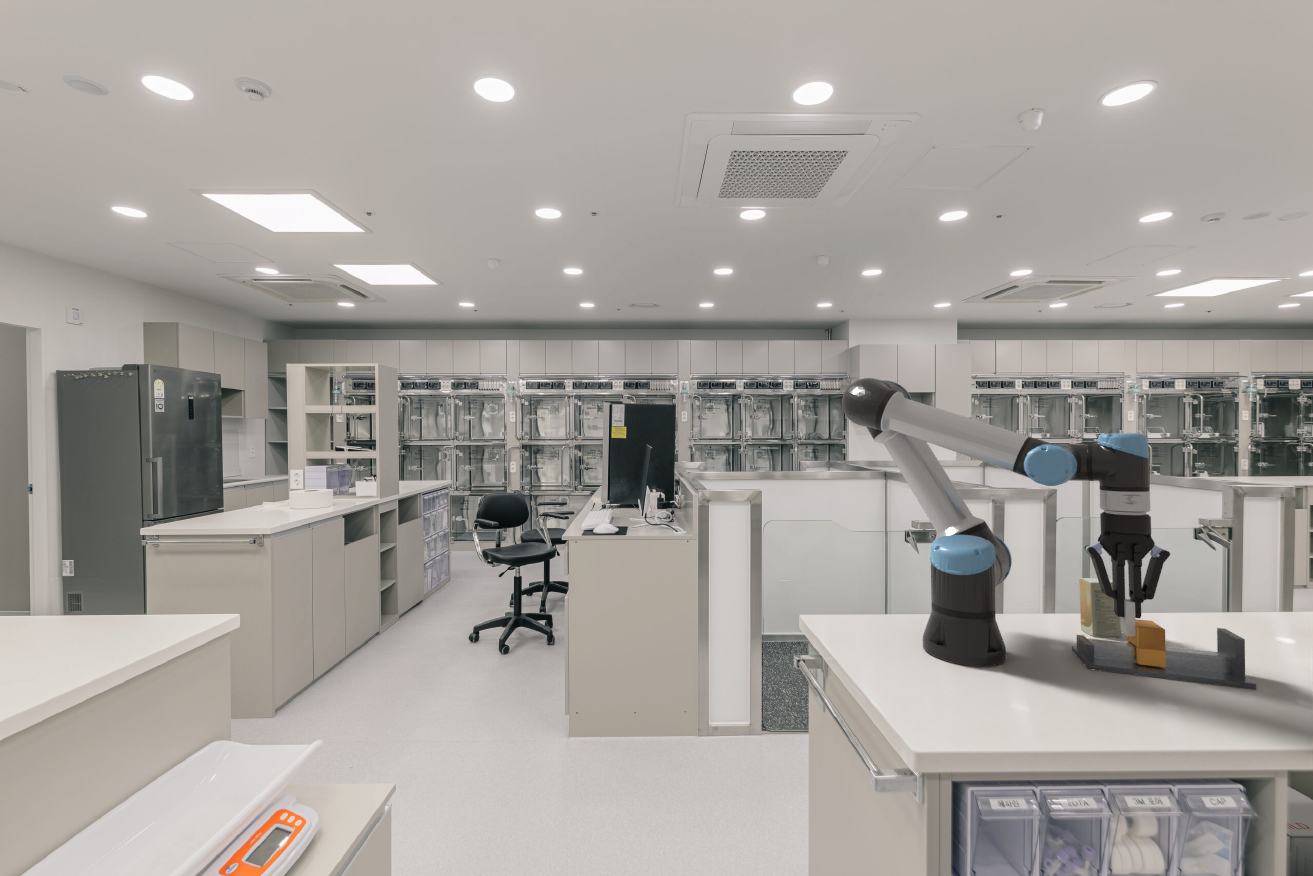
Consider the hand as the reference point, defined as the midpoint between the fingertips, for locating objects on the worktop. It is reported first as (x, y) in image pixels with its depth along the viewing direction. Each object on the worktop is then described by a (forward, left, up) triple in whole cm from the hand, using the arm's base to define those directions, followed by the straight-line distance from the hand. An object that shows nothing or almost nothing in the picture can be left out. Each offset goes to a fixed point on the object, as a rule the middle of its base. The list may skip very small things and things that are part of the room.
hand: (1128, 633), depth 107 cm
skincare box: (+1, +19, -6) cm, 20 cm away
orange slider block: (+3, 0, -5) cm, 6 cm away
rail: (+4, 0, -6) cm, 7 cm away
